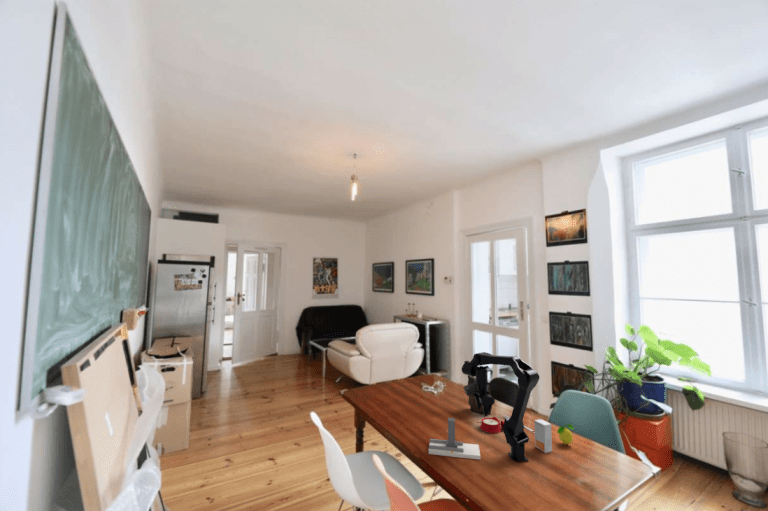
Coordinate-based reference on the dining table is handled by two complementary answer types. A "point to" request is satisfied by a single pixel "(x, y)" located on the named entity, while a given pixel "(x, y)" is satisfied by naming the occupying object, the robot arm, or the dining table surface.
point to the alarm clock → (491, 425)
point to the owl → (473, 401)
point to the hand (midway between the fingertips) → (482, 412)
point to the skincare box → (543, 435)
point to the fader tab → (451, 433)
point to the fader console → (454, 449)
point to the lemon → (565, 434)
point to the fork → (524, 426)
